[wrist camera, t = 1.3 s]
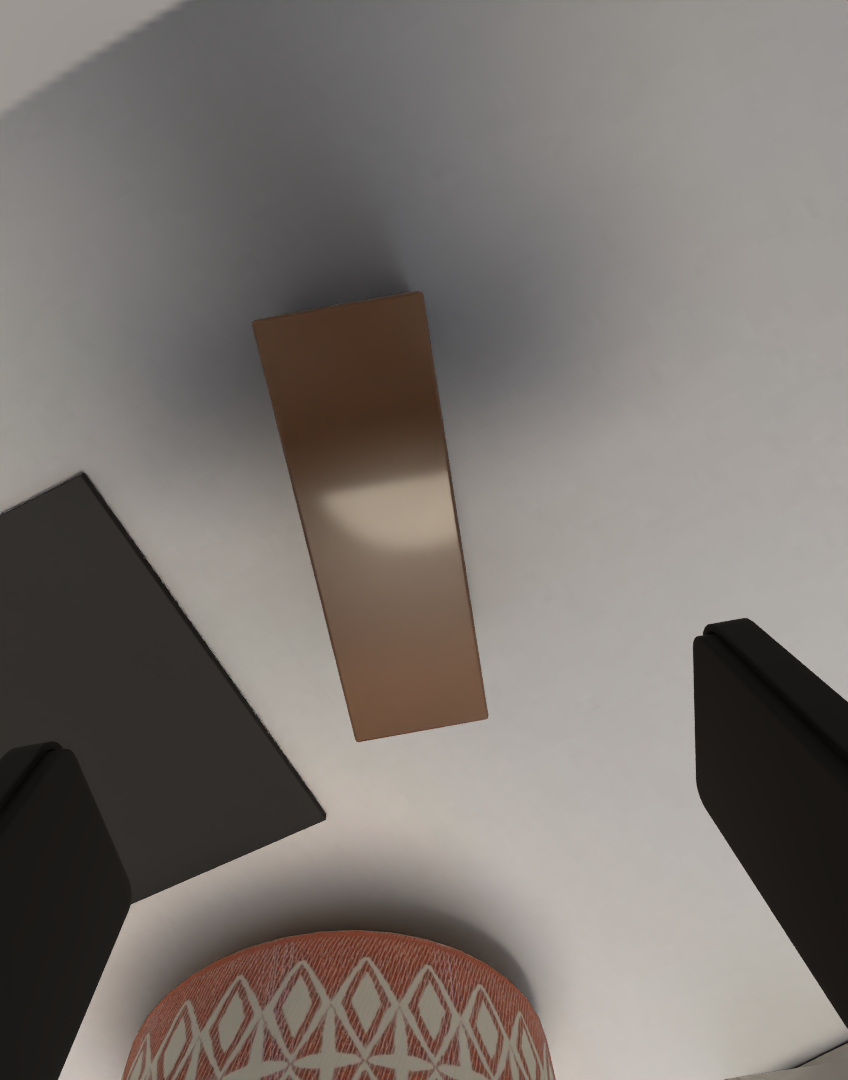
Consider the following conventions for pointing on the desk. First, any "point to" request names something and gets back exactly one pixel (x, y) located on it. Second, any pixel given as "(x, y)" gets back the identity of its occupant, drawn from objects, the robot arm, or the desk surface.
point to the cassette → (830, 1056)
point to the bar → (377, 508)
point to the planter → (343, 1016)
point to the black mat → (133, 697)
